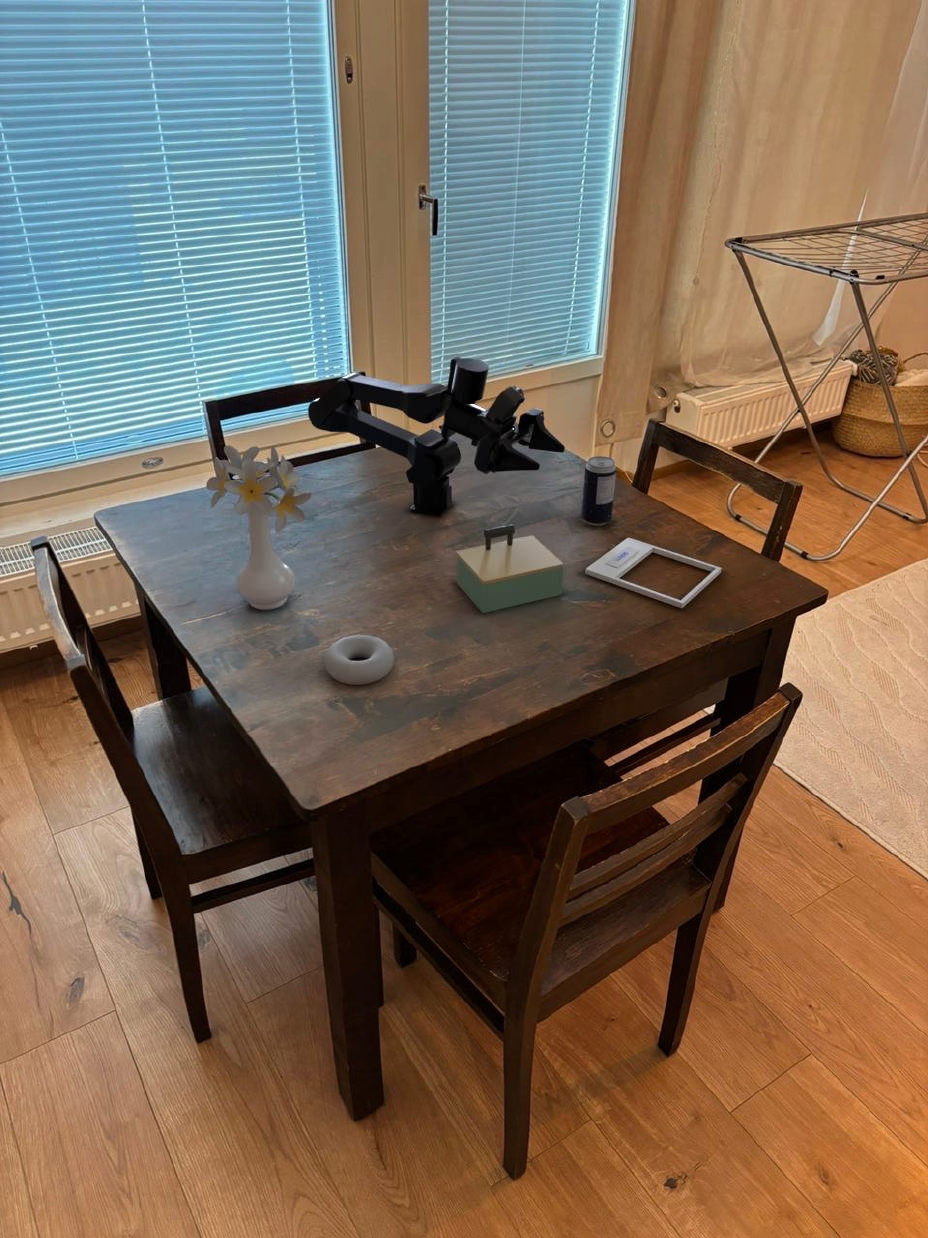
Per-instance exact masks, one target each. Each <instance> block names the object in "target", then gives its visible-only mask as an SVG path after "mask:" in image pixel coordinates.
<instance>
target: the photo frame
mask: <svg viewBox="0 0 928 1238" xmlns="http://www.w3.org/2000/svg"><path fill="white" fill-rule="evenodd" d="M652 553H654V554H658V555H660V556H662V557H666V558H669V559H672V560H675V561H678V562H680V563H685V564H686V565H690V566H693V567H696V568H698V569H703V570H705V571H708V572H710V573H709V574H708V575H707V576H706V577H705V578H703V580H702V581H700V582H699V583H698V584H697V585H695V587H694V588H693V589H692V590H690V591H689V593H687V594H686V595H685V596H684V597H682V598H681V600H680V599H678V598H675V597H672V596H669V595H667V594H663V593H661V592H658V591H655V590H652V589H650V588H647V587H645V586H641V585H638V584H636V583H632V582H630V581H627V580H624V579H621V577H623V576H625V574H627V573H628V572H629V571H630V570H632V569H633V568H634V567H636V566H637V565H638V564H639V563H640V562H642V561H643V560H644V559H646V558H647V557H648V556H649V555H651V554H652ZM722 569H723V568H722V567H720V566H716V565H715V564H711V563H707V562H705V561H702V560H698V559H696V558H692V557H689V556H687V555H683V554H681V553H676V552H674V551H671V550H668V549H665V548H662V547H659V546H656V545H652V544H650V543H646V542H644V541H640V540H637V539H635V538H631V537H626V538H625V539H624V540H623V541H621V542H620V543H618V544H617V545H616V546H614V547H613V548H612V549H610V550H609V551H608V552H606V553H604V555H602V556H601V557H599V558H598V559H597V560H595V561H594V562H592V564H590V565H589V566H587V567H585V569H584V574H585V575H588V576H591V577H593V578H595V579H599V580H602V581H604V582H607V583H610V584H612V585H615V586H617V587H621V588H624V589H625V590H629V591H632V592H635V593H638V594H640V595H643V596H646V597H649V598H652V599H655V600H657V601H659V602H663V603H665V604H669V605H671V606H674V607H677V608H679V609H683V608H684V607H686V605H687V604H689V603H690V602H691V601H692V600H693V599H694V598H695V597H696V596H697V595H698V594H700V593H701V592H702V591H703V590H704V589H705V588H706V587H708V585H710V583H712V581H714V579H716V578H717V577H718V576H719V575H720V574H721V573H722Z"/></svg>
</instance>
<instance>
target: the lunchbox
mask: <svg viewBox="0 0 928 1238" xmlns="http://www.w3.org/2000/svg"><path fill="white" fill-rule="evenodd" d="M456 556H457V555H456ZM563 577H564V566H563V567H561V568H556V569H552V570H547V571H543V572H538V573H534V574H529V575H525V576H520V577H516V578H511V579H507V580H502V581H498V582H493V583H489V584H484V585H483V584H482V582H481V581H480V580H479V579H478V578H477V577H476V576H475V575H474V574H473V573H472V571H471V570H470V569H469V568H468V567H467V566H466V565H465V564H464V563H463V561H462V560H461V559H460V558H459V557H458V556H457V557H456V584H457V585H458V586H459V587H460V589H461V590H462V591H463V592H464V593H465V594H466V596H467V597H468V599H470V601H471V602H473V603H474V605H475V606H476V607H477V609H479V611H480V612H481V613H482V614H487V613H491V612H494V611H498V610H503V609H507V608H511V607H516V606H520V605H524V604H528V603H529V604H530V603H532V602H537V601H542V600H544V599H549V598H554V597H558V596H562V592H563Z"/></svg>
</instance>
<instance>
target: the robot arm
mask: <svg viewBox="0 0 928 1238" xmlns="http://www.w3.org/2000/svg"><path fill="white" fill-rule="evenodd" d="M489 368H490V365H489V364H488V363H487V362H485V361H484V360H483V359H479V358H477V359H476V358H469V357H464V358H463V357H460V356H456V357H454V358H452V359H450V362H449V374H448V379H447V385H445V384H442V383H420V384H411V385H410V384H403V383H399V382H394V381H389V380H385V379H381V378H375V377H370V376H365V375H362V374H361V373H358V372H352V373H350V374H348V375H345V376H343V377H341V378H339V379H338V381H337V382H336V383H335V384H334V385H333V386H332V387H331V388H330V389H328V390H327V391H326V392H325V393H324V394H323V395H321V396H320V397H319V398H316V399H315V400H312V401H311V402H310V403H309V405H308V408H307V416H308V419H309V422H310V423H311V425H312V426H313V427H314V428H316V429H317V430H320V431H325V432H329V433H349V434H351V435H353V436H355V437H358V438H360V439H362V440H364V441H366V442H370V443H371V444H374V445H376V446H378V447H380V448H383V449H385V450H387V451H388V452H389V451H390V452H391V453H394V454H396V455H399V456H401V457H403V458H405V459H407V461H408V462H409V464H410V465H411V466H410V467H409V468H408V469H407V470H406V471H405V475H406V479H407V482H408V483H410V484H412V487H413V488H412V490H413V492H412V495H413V505H411V506H410V507H409V509H410V511H411V512H416V513H422V514H426V515H433V516H438V517H439V516H440V517H441V516H442V515H443V514H444V513H445V512H446V511H447V510H448V509H449V508H450V507H451V506H452V505H453V501H454V500H453V496H452V495H453V488H452V487H453V486H452V485H451V484H450V476H449V475H451V474H453V473H454V472H455V470H456V469H455V468H456V467H458V465H459V464H460V463H461V460H462V452H461V449H460V447H459V444H458V443H457V442H456V441H455V440H454V439H452V438H451V437H452V436H454V435H455V434H458V435H461V436H462V437H465V438H467V439H469V440H471V443H470V445H471V446H473V447H475V448H476V452H475V456H474V461H473V464H474V466H475V469H476V470H477V471H479V472H481V473H482V474H484V475H488V474H489V473H492V474H495V473H501V472H503V473H504V472H520V471H521V472H522V471H524V472H527V471H539V469H540V467H541V464H540V463H539V462H538V461H537V460H535V459H533V458H532V457H529V456H528V455H527V454H524V453H523V452H521V451H519V450H518V449H516V448H514V447H513V446H514V445H516V444H518V445H521V446H523V447H528V449H529V450H537V451H542V452H543V451H545V452H552V453H560V454H561V453H564V452H565V449H566V447H565V445H564V444H563V443H562V442H561V441H560V440H558V438H557V437H555V435H553V434H552V433H551V432H550V431H549V430H548V429H547V427H546V424H545V416H544V415H545V411H544V410H543V409H540V408H537V407H532V408H531V409H529V410H527V411H525V412H524V413H522V414H520V415H519V419H518V422H517V417H518V415H516V414H515V413H516V412H517V410H519V408H520V406H521V404H523V403H524V402H525V400H526V398H525V394H524V392H523V388H521V387H517V386H516V385H509V386H507V387H506V388H505V389H504V390H502V391H501V392H500V393H498V395H497V396H496V398H495V399H494V400H493V402H492V404H491V405H490V407H489V408H487V409H485V408H482V407H480V406H477V405H476V403H477V402H479V401H481V400H482V399H484V394H485V389H486V384H487V380H488V374H489ZM358 401H360V402H365V403H369V404H373V405H377V406H382V407H387V408H391V409H395V410H399V411H401V412H402V413H403V414H405V415H406V417H407V418H409V419H411V420H414V421H416V422H418V423H421V424H424V425H427V424H431V423H432V422H435V421H436V420H438V419H440V418H442V417H443V422H442V423H441V424H439V425H438V429H439V430H440V431H439V430H436V429H434V428H431V429H429V430H427V431H425V432H423V433H422V434H417V433H414V432H412V431H409V430H407V429H405V428H402V427H400V426H397V425H395V424H393V423H391V422H389V421H387V420H383V419H381V418H379V417H376V416H375V415H373V414H370V413H368V412H365V411H362V409H361V410H360V408H359V407H358V405H357V404H356V403H357V402H358ZM516 422H517V423H518V424H517V427H516V425H515V423H516Z"/></svg>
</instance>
